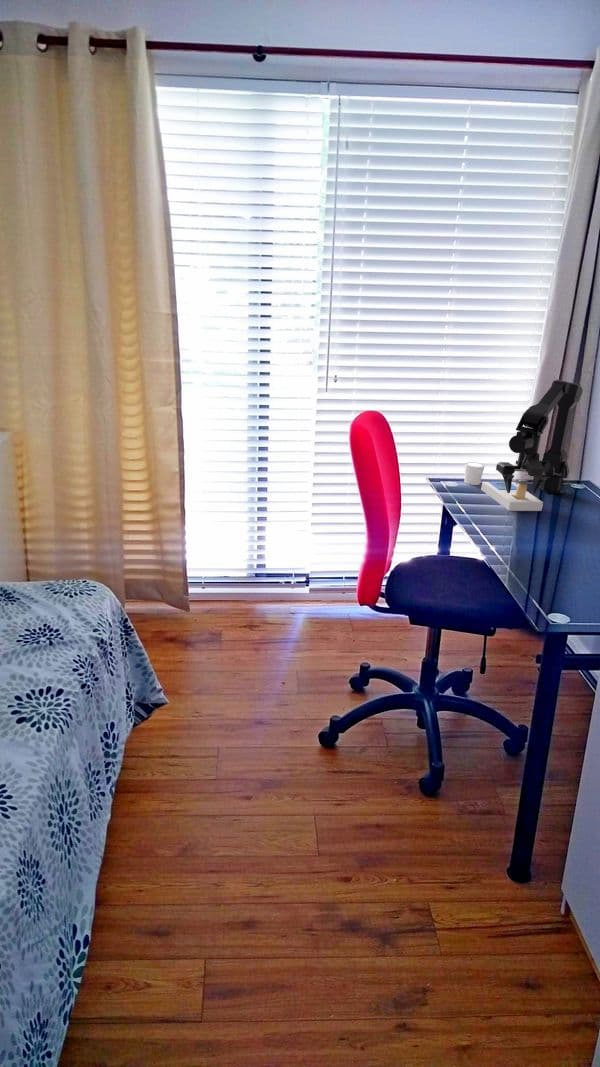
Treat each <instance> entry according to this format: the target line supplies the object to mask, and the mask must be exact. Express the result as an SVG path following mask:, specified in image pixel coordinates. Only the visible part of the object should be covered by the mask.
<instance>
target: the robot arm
mask: <svg viewBox="0 0 600 1067" xmlns="http://www.w3.org/2000/svg"><path fill="white" fill-rule="evenodd" d="M583 390H584V389H583V387H582V386H581V384H580V383H575V382H571V381H570V382H569V381H566V380H565V381H564V380H560V379H556V380H553V381H552V384H551V387H549V389H548V390H547V391H546V393H544V394H543V396H542V398H541V399H540V400H539V401H538V403H537V404H534V405H531V406H529V407H528V409H526V410H525V411H524V412H523V414H522V416H521V417H520V420H519V422H518V423H517V426H516V428H515V431H517V432H516V435H513V436H512V437H511V438H510V439H509V441H508V447H509V449H510V451H511V452H512V453H515V454H518V459H517V460H515V465H513V464H512V463H510V462H509V461H507V462H506V461H504V462H503V461H499V462H498V463H497V464H496V466H495V470H496V471H497V472H498V473H499V474H500V475H502V478H503V482H505V486H506V490H507V493H510V490H511V484H512V482H513V479H514V478H515V472H526V473H527V475H528V476H530V477H533V479H532V485H531V486H532V487H531V493H532V495H533V494H535V493H536V492H537V490H538V489H540V490H541V491H543V492H544V493H546V494H558V495H559V494H564V491H562V487H563V484H564V483H563V482H564V479H567V478H568V476H569V474H570V469H569V464H568V455H567V454H568V453H567V452H566V449H565V448H566V444H567V437H568V434H569V427H570V422H571V419H572V418H571V417H572V412H573V409H574V408H575V406H576V405H577V404H578V403H579V402H580V399H581V397H582V395H583ZM555 406H557V407H558V408H557V412H556V417H555V422H554V428H553V432H552V433H553V434H552V437H551V442H550V443H551V444H550V447H549V448H548V449H547V451H545V452H544V453H543V456H542V458H541V460H540V453H539V447H540V443H541V442H540V441H541V438H542V435H543V434H544V430H546V428H547V426H548V425H549V420H550V419H549V415H550V413H551V412H552V410H553V409H554V408H555Z"/></svg>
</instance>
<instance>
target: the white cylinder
mask: <svg viewBox="0 0 600 1067" xmlns="http://www.w3.org/2000/svg"><path fill="white" fill-rule="evenodd" d="M464 466H465V467H464V478H463V479H464V484H466V483H467V485H470V484H471V486H479V485H480V484H481V482H482V476H483V475H484V474H483V473H484V471H485V470H484V469H485V464H483V463H479V462H475V461H467V462H466V463H465V464H464Z"/></svg>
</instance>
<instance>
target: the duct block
mask: <svg viewBox="0 0 600 1067" xmlns="http://www.w3.org/2000/svg"><path fill="white" fill-rule="evenodd" d="M481 482H482V483H481V488H480V490H481V491H482V492H484V493H485V494H486V495H487V496H489V497H490V498H492V499H493V500H494V501H495V502H497V503H498V504H499V505H501V506H502V507H503V508H504V509H506V510H507V511H511V512H514V511H515V512H525V511H527V512H533V511H535V512H541V511H542V510H543V505H544V502H543V501H542V500H540V499H539V498H538V497H536V496H534V495H533V493H532V494H531V493H530V492H529V491H527V490H526V495H525V500H518V499H516V498H515V495H516V489H517V484H518V483H516V482H514V481H512V484H511V490H510V493H507V490H506V486H505V482H504V481H481Z"/></svg>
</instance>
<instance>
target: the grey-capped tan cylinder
mask: <svg viewBox="0 0 600 1067" xmlns="http://www.w3.org/2000/svg"><path fill="white" fill-rule="evenodd" d="M516 484H517V489H516V495H515V498H516V499H518V500H525V495H526V491H527V489H528V484H529V480H527V479H524V478H519V479H517V483H516Z"/></svg>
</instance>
